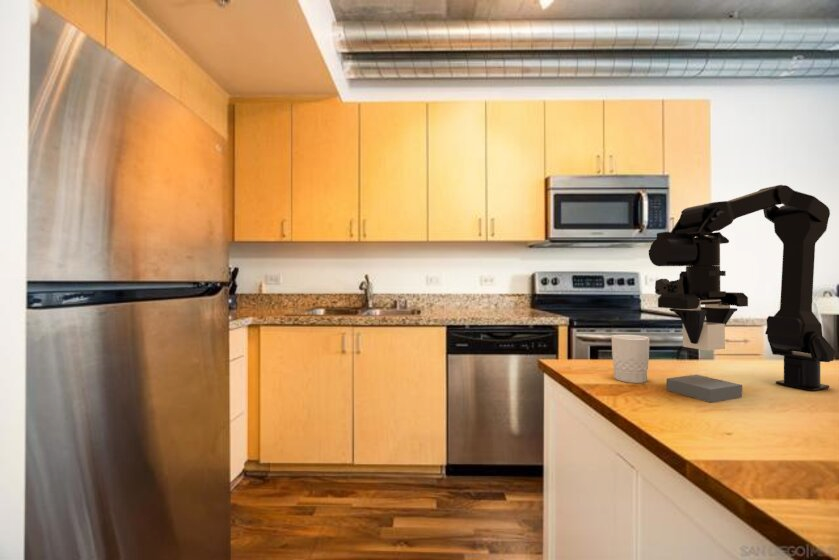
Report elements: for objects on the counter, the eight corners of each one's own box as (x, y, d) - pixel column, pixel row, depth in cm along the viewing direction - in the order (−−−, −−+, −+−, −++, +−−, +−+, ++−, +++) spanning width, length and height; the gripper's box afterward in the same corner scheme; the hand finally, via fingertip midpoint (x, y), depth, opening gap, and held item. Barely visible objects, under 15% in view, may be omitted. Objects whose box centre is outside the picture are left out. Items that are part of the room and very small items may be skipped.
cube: (699, 344, 84) (699, 321, 84) (724, 348, 79) (724, 323, 79) (682, 346, 82) (682, 322, 82) (707, 350, 77) (707, 325, 77)
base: (696, 385, 86) (696, 374, 86) (742, 397, 78) (742, 384, 78) (666, 390, 83) (666, 378, 83) (710, 402, 75) (710, 389, 75)
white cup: (655, 384, 88) (655, 339, 88) (617, 383, 89) (616, 339, 89) (642, 376, 95) (642, 334, 95) (607, 374, 97) (607, 334, 97)
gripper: (695, 267, 91) (695, 334, 91) (634, 267, 85) (635, 339, 85) (749, 265, 81) (750, 341, 81) (684, 265, 74) (685, 348, 74)
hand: (703, 342), depth 80 cm, fingers closed on cube, 5 cm apart
